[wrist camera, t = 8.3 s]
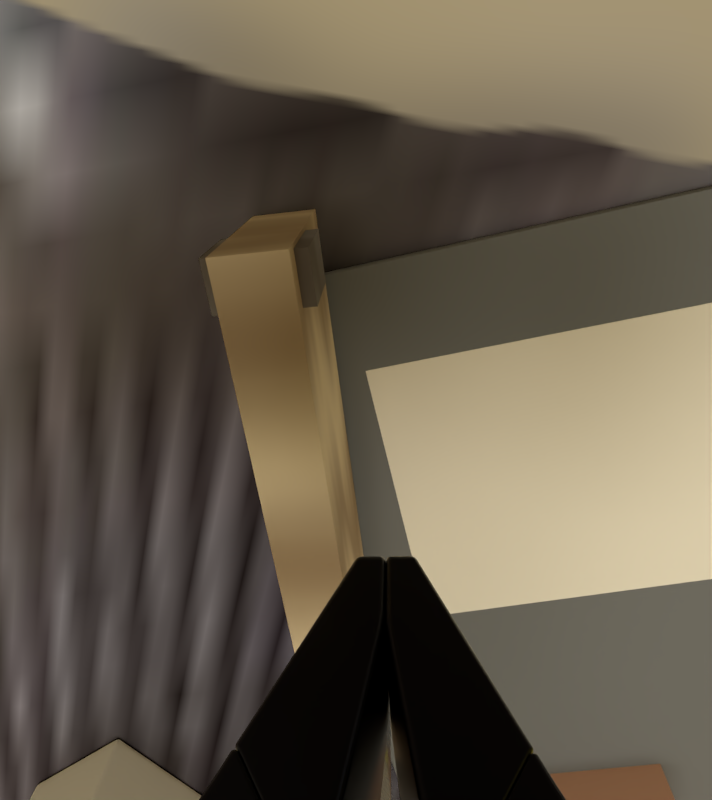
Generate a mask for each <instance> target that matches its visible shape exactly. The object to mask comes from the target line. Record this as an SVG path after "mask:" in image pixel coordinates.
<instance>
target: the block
mask: <svg viewBox="0 0 712 800" xmlns="http://www.w3.org/2000/svg"><path fill="white" fill-rule="evenodd" d="M550 775H551V777H552V779H553V780H554V782H555V784H556V785H557V787H558V788H559V790H560V791H561V793H562V794H563V796H564V797H565V799H566V800H675V799H674V796H673V794H672V791H671V789H670V786H669V784H668V782H667V779H666V777H665V774H664V772H663V769H662V767H661V764H652V765H641V766H630V767H619V768H609V769H598V770H587V771H576V772H565V773H554V774H550Z"/></svg>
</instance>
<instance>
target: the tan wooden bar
mask: <svg viewBox="0 0 712 800" xmlns="http://www.w3.org/2000/svg"><path fill="white" fill-rule="evenodd" d="M199 263H200V267H201V272H202V276H203V280H204V285H205V289H206V293H207V298H208V302H209V306H210V311H211V315H212V317H214V316H218V317H219V321H220V326H221V330H222V335H223V339H224V343H225V348H226V352H227V357H228V361H229V365H230V370H231V374H232V379H233V383H234V388H235V392H236V396H237V401H238V405H239V410H240V414H241V418H242V423H243V427H244V432H245V436H246V440H247V445H248V449H249V454H250V458H251V463H252V467H253V471H254V476H255V480H256V485H257V489H258V493H259V498H260V502H261V507H262V511H263V515H264V520H265V524H266V529H267V533H268V538H269V542H270V546H271V551H272V555H273V560H274V564H275V568H276V573H277V577H278V582H279V586H280V590H281V595H282V599H283V604H284V608H285V612H286V617H287V621H288V626H289V630H290V635H291V639H292V643H293V648H294V652H296V651H297V649H298V648H299V646H300V644H301V643H302V641H303V640H304V638H305V637H306V635H307V634H308V632H309V631H310V629H311V627H312V626H313V624H314V623H315V621H316V620H317V618H318V617H319V615H320V614H321V612H322V610H323V609H324V607H325V606H326V604H327V603H328V601H329V600H330V598H331V596H332V595H333V593H334V592H335V590H336V589H337V587H338V586H339V584H340V583H341V581H342V579H343V578H344V576H345V575H346V573H347V572H348V570H349V569H350V567H351V566H352V564H353V562H354V561H355V560H356V559H357V558H358V557H362V556H364V555H363V548H362V541H361V533H360V526H359V519H358V512H357V505H356V498H355V490H354V483H353V476H352V469H351V462H350V455H349V447H348V440H347V433H346V426H345V419H344V412H343V404H342V397H341V390H340V383H339V376H338V369H337V361H336V354H335V347H334V340H333V333H332V326H331V318H330V311H329V304H328V297H327V290H326V279H325V272H324V265H323V258H322V251H321V243H320V236H319V229H318V225H317V218H316V211H315V209H312V210H303V211H294V212H285V213H276V214H267V215H258V216H253V217H252V218H251V219H249V220H248V221H247V222H246V223H245V224H244V225H242V226H241V227H240V228H239V229H238V230H237V231H236V232H234V233H233V234H232V235H231V236H230V237H229V238H228V239H221V240H220V241H219V242H218V243H216V244H215V245H214V246H213V247H212V248H210V249H209V250H208V251H207V252H206V253H205V254H203V255H202V256H201V257H200V258H199Z"/></svg>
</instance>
